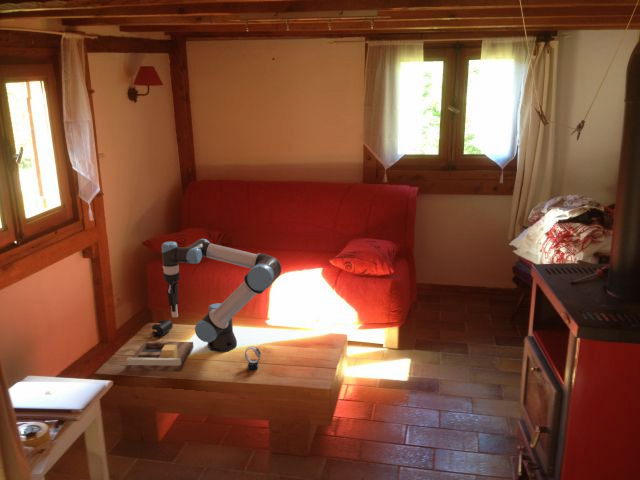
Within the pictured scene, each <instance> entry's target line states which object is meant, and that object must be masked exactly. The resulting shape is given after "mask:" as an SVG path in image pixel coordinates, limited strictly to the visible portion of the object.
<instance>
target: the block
mask: <svg viewBox="0 0 640 480" xmlns="http://www.w3.org/2000/svg"><path fill="white" fill-rule="evenodd" d="M177 356H178V351H177V345H165V346H164V347H163V349H162V358H177Z"/></svg>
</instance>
